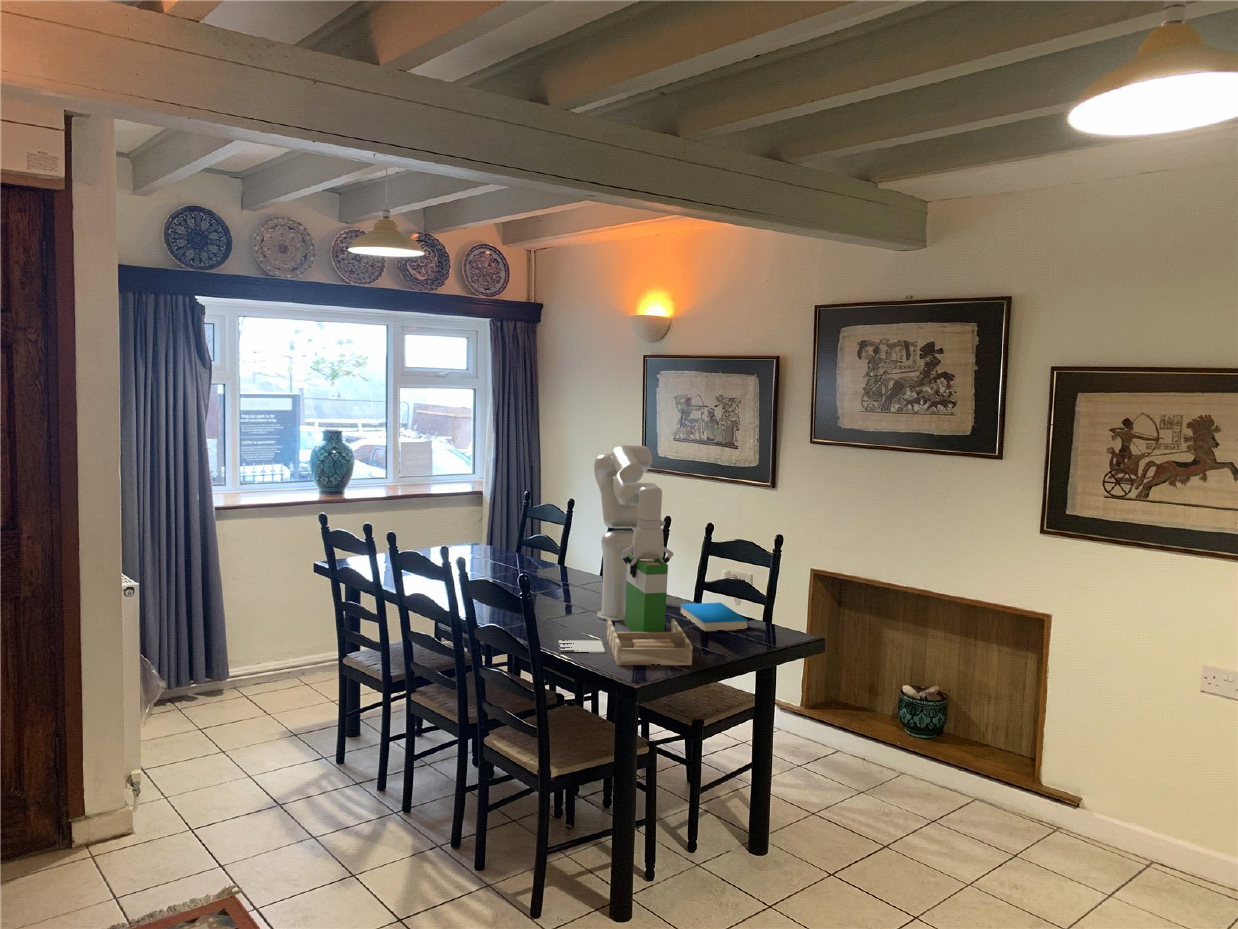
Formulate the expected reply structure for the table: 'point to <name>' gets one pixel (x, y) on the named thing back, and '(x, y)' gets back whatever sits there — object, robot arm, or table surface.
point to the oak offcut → (652, 643)
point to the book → (713, 616)
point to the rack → (648, 656)
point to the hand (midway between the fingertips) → (646, 576)
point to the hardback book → (646, 596)
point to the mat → (583, 646)
